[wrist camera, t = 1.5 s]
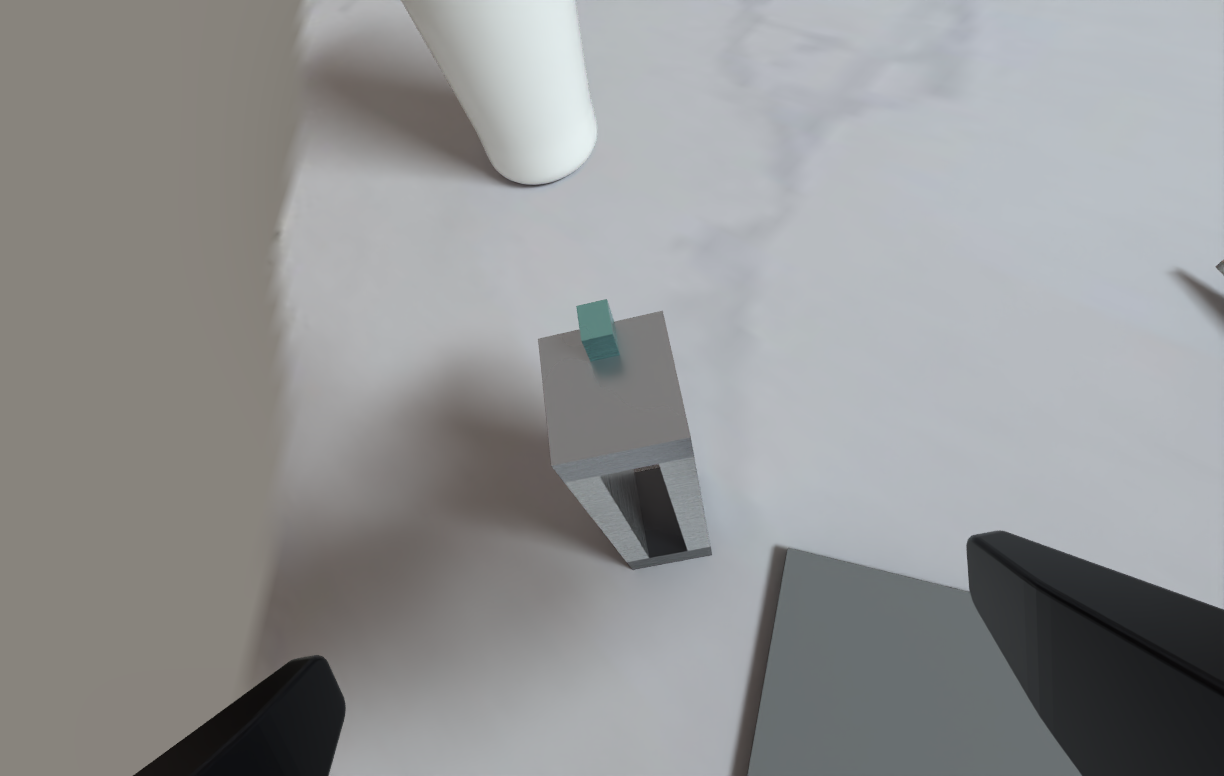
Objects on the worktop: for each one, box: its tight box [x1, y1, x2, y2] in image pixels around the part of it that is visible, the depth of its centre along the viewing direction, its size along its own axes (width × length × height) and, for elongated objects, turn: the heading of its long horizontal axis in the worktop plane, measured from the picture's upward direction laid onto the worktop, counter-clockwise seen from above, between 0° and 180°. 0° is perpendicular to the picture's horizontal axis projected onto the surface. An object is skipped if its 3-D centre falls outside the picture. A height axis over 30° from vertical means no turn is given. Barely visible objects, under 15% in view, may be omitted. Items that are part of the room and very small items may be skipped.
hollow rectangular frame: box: [538, 299, 712, 570], centre depth 16 cm, size 3×3×11 cm
